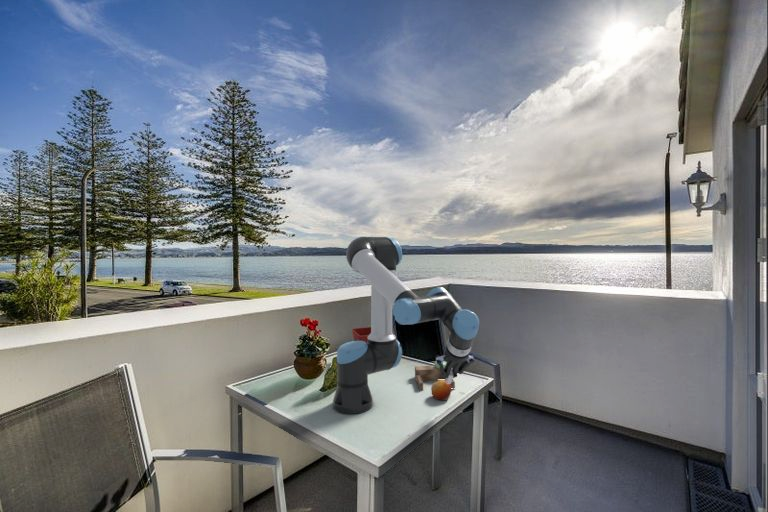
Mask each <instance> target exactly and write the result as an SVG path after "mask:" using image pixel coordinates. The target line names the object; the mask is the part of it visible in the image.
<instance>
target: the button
mask: <svg viewBox="0 0 768 512" xmlns="http://www.w3.org/2000/svg"><path fill="white" fill-rule="evenodd" d="M446 363H447V362H446V361H445V360H443V367H444V368H445V366H446ZM434 366H435V368H437V369H440V367H439V365H438V364H437V361H435V362H434Z"/></svg>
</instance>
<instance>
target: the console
mask: <svg viewBox="0 0 768 512" xmlns="http://www.w3.org/2000/svg"><path fill="white" fill-rule="evenodd" d="M416 374H420V377H421V379H422V380H430V381H436V380H435V379H446V378H445V377H444V375H442V374H441V371H440V369H437V368H435V365H420V366H419V365H418V366H417V365H415V366H414V378H415V379H416Z"/></svg>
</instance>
